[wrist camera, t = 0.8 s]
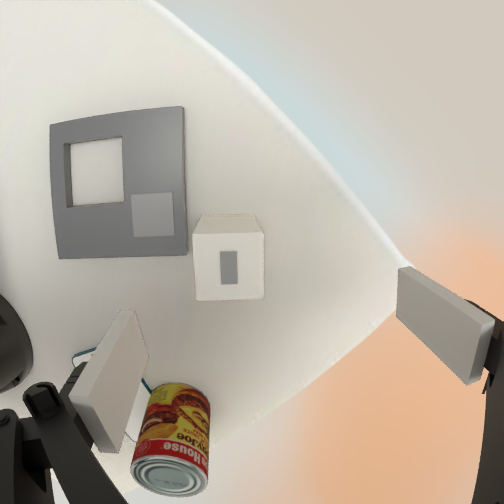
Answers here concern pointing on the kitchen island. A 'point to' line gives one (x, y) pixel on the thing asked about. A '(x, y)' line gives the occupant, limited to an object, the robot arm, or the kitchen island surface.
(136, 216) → the grey square base plate
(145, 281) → the kitchen island surface
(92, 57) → the kitchen island surface
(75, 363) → the smartphone
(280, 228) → the kitchen island surface
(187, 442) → the canned food
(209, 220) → the block
